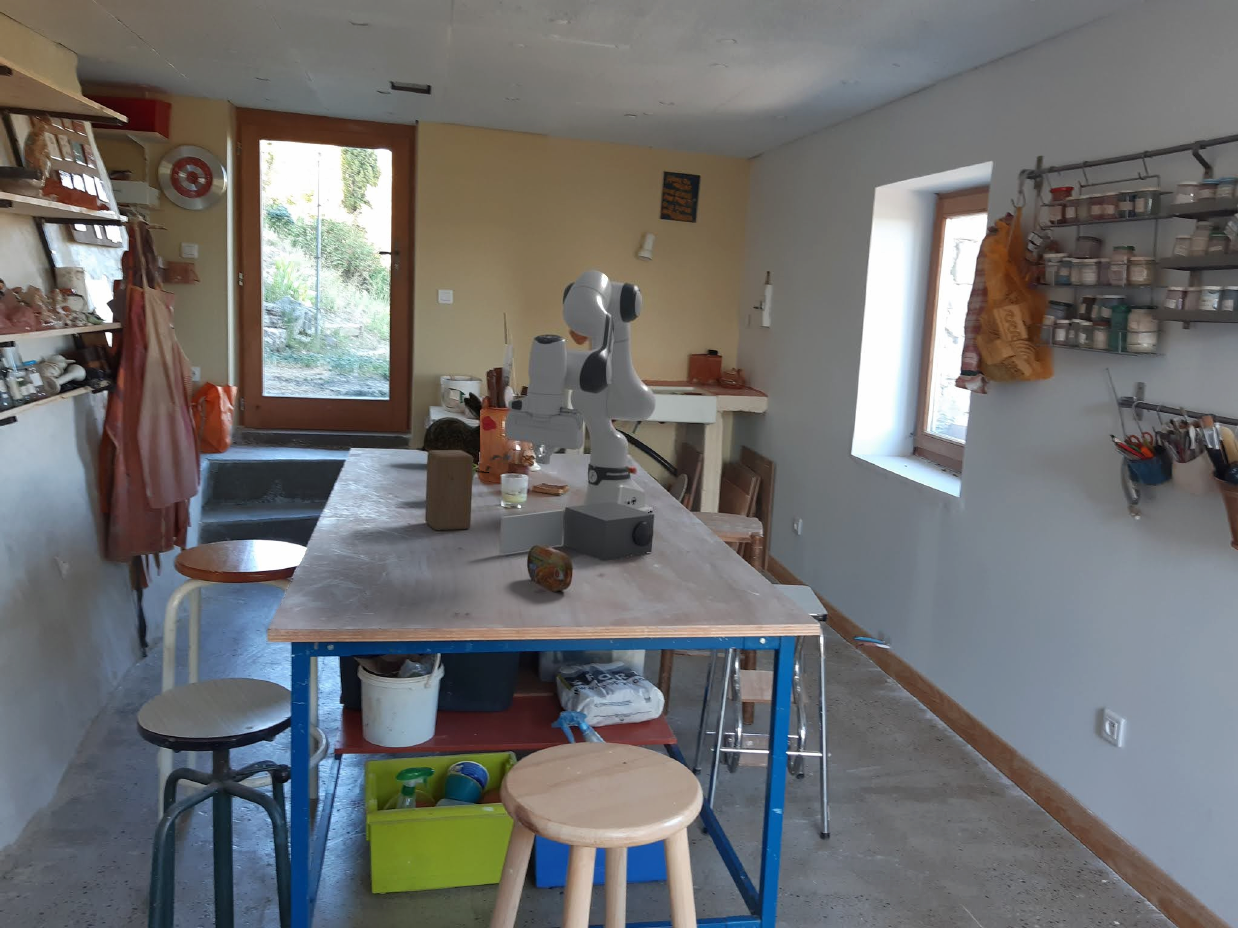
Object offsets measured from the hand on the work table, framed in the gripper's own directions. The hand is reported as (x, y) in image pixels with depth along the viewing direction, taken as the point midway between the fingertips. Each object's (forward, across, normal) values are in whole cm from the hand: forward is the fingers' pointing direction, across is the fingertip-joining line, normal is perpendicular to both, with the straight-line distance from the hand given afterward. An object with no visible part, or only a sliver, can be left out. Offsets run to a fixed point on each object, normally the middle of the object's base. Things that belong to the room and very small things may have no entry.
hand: (542, 463), depth 223 cm
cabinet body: (+24, -8, -21) cm, 32 cm away
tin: (+24, -14, +16) cm, 32 cm away
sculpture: (+24, +87, -82) cm, 122 cm away
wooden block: (+24, +36, -11) cm, 45 cm away
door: (+23, +6, -6) cm, 24 cm away
